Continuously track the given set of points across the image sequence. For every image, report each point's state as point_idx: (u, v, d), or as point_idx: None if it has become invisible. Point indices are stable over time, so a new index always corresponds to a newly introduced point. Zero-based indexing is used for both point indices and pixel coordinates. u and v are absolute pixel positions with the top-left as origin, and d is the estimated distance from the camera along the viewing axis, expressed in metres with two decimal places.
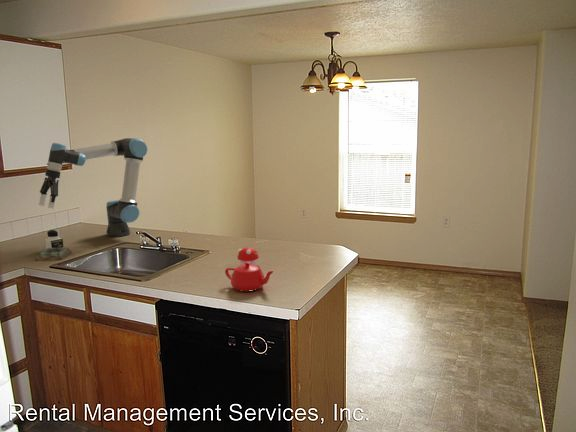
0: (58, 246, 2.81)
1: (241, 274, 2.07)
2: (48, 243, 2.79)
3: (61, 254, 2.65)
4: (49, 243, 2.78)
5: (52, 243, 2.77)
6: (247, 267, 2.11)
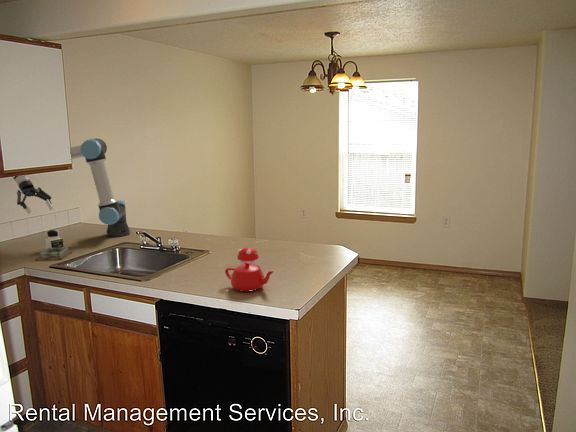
0: (58, 246, 2.81)
1: (241, 274, 2.07)
2: (48, 243, 2.79)
3: (61, 254, 2.65)
4: (49, 243, 2.78)
5: (52, 243, 2.77)
6: (247, 267, 2.11)
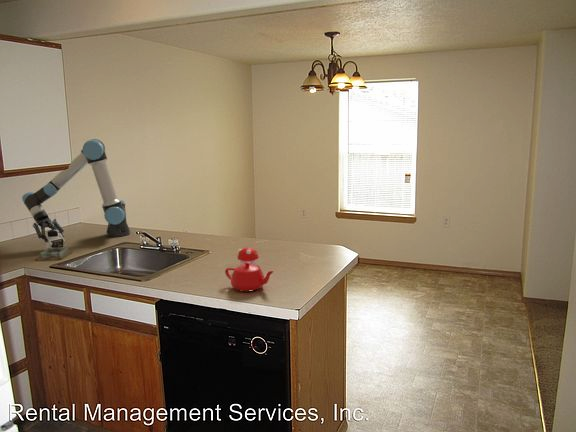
0: (58, 246, 2.81)
1: (241, 274, 2.07)
2: None
3: (61, 254, 2.65)
4: None
5: (52, 242, 2.77)
6: (247, 267, 2.11)
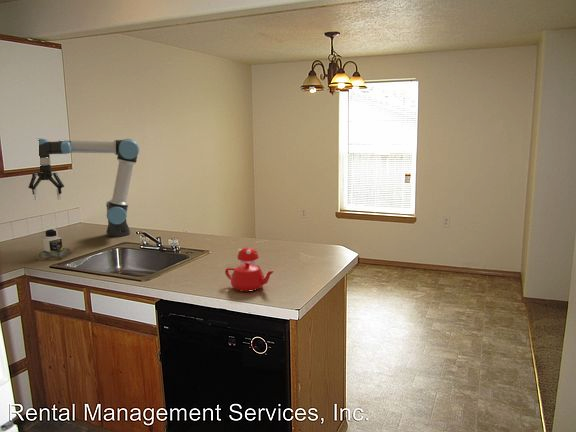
0: (57, 246, 2.66)
1: (241, 274, 2.07)
2: (46, 243, 2.65)
3: (61, 254, 2.65)
4: (47, 243, 2.64)
5: (50, 243, 2.63)
6: (247, 267, 2.11)
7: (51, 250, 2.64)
